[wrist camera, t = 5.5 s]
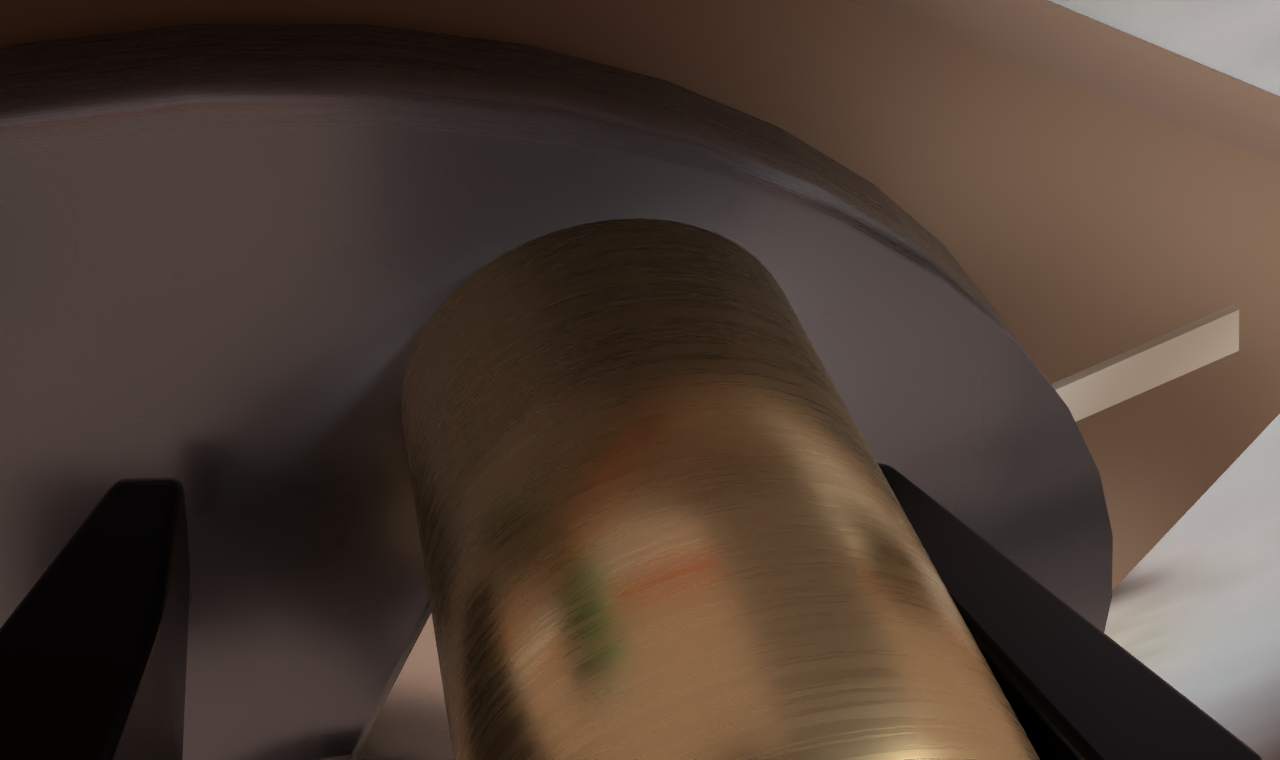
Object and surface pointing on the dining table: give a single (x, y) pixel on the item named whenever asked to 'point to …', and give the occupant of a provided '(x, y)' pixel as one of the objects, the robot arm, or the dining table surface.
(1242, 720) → the dining table surface
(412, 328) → the handwheel
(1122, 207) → the wheel base
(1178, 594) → the dining table surface
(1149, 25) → the dining table surface
